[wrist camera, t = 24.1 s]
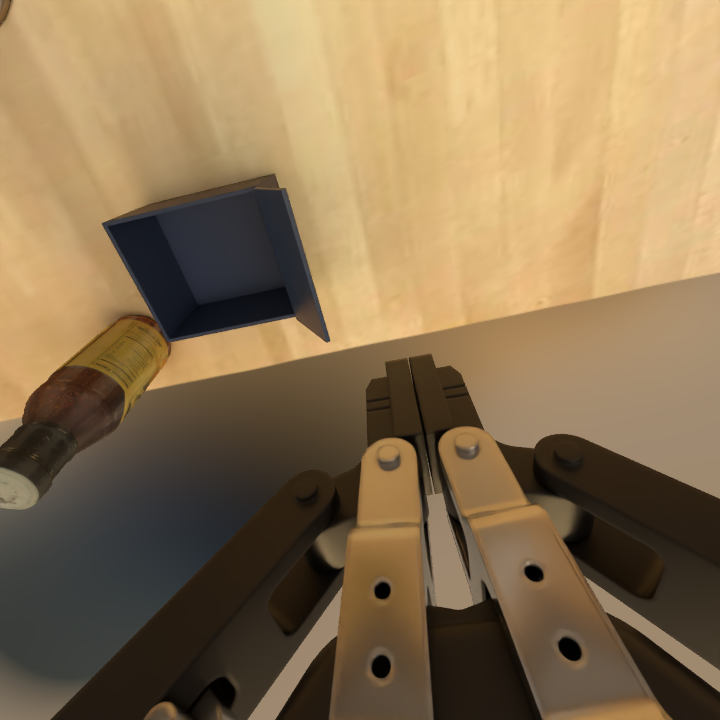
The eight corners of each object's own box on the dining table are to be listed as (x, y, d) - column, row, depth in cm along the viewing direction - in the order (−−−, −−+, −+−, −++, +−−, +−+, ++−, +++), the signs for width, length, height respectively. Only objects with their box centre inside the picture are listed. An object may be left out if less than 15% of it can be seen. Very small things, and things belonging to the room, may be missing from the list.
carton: (148, 204, 33) (101, 223, 27) (274, 173, 32) (255, 185, 26) (197, 307, 38) (167, 342, 32) (308, 284, 37) (298, 316, 31)
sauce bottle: (135, 368, 42) (-11, 532, 25) (100, 320, 39) (-93, 469, 22) (188, 355, 41) (74, 514, 24) (157, 304, 38) (1, 447, 21)
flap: (281, 189, 21) (285, 188, 21) (252, 188, 25) (256, 187, 25) (326, 342, 26) (330, 341, 26) (296, 319, 30) (299, 318, 31)
